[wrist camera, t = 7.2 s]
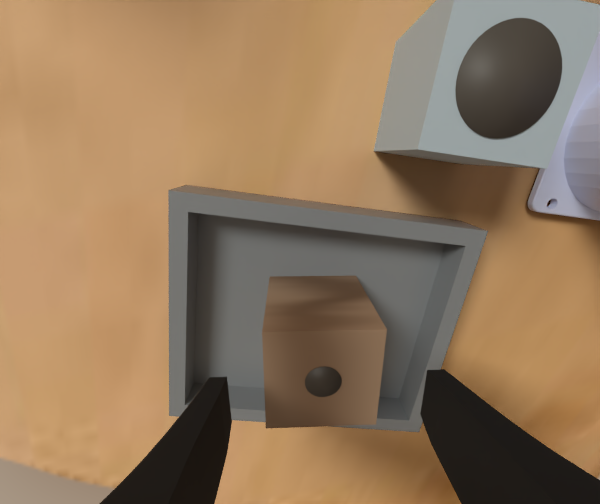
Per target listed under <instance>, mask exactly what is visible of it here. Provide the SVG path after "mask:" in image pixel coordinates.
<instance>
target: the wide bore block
mask: <svg viewBox="0 0 600 504" xmlns="http://www.w3.org/2000/svg"><path fill="white" fill-rule="evenodd" d="M599 31H600V5H599V4H594V3H589V2H585V1H580V0H436V1H435V2H434V3H433V4H432V5H431V6H430V7H429V9H428V10H427V11H426V12H425V13H424V14H423V15H422V16H421V17H420V18H419V19H418V20H417V21H416V22H415V23H414V24H413V25H412V26H411V27H410V28H409V29H408V30H407V31H406V32H405V33H404V34H403V35H402V36H401V37H400V38H399V39H398V40H397V41H396V44H395V49H394V54H393V59H392V64H391V69H390V74H389V79H388V84H387V89H386V94H385V98H384V103H383V108H382V113H381V118H380V123H379V128H378V133H377V138H376V143H375V148H374V151H376V152H383V153H390V154H397V155H403V156H410V157H417V158H424V159H430V160H437V161H444V162H451V163H457V164H467V165H486V166H504V167H523V168H541V169H547V167H548V165H549V162H550V160H551V157H552V154H553V152H554V149H555V146H556V144H557V141H558V139H559V136H560V133H561V131H562V128H563V126H564V123H565V120H566V118H567V115H568V112H569V110H570V107H571V105H572V102H573V99H574V97H575V94H576V92H577V89H578V86H579V84H580V81H581V78H582V76H583V73H584V71H585V68H586V65H587V63H588V60H589V58H590V55H591V52H592V50H593V47H594V44H595V42H596V39H597V37H598V34H599Z"/></svg>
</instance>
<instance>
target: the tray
mask: <svg viewBox="0 0 600 504" xmlns="http://www.w3.org/2000/svg"><path fill="white" fill-rule="evenodd" d="M487 233H488V231H486V230H484V229H481V228H478V227H476V226H473V225H470V224H468V223H465V222H462V221H459V220H451V219H443V218H435V217H428V216H420V215H412V214H405V213H397V212H389V211H382V210H374V209H366V208H359V207H351V206H343V205H336V204H328V203H320V202H313V201H305V200H297V199H289V198H282V197H274V196H266V195H259V194H251V193H243V192H236V191H228V190H220V189H213V188H205V187H197V186H190V185H184V186H181V187H178V188H174V189H171V190H169V416H180V415H181V414H182V413H183V412H184V410H185V409H186V408H187V406H188V405H189V404H190V402H191V401H192V400H193V398H194V397H195V396H196V394H197V393H198V392H199V390H200V389H201V387H202V386H203V385H204V383H205V382H206V380H207V379H208V378H209V377H227V381H228V391H229V400H230V409H231V419H232V420H241V421H256V422H266V418H265V393H264V368H263V343H262V329H263V321H264V314H265V307H266V300H267V292H268V285H269V278H270V277H272V276H356V277H357V278H358V280H359V282H360V284H361V285H362V287H363V289H364V290H365V292H366V294H367V296H368V297H369V299H370V301H371V303H372V304H373V306H374V308H375V310H376V311H377V313H378V315H379V317H380V318H381V320H382V322H383V323H384V325H385V327H386V329H387V334H386V342H385V351H384V360H383V368H382V377H381V386H380V395H379V403H378V412H377V421H376V425H346V426H333V427H348V428H363V429H379V430H394V431H409V432H419V431H420V428H421V425H422V422H423V420H422V417H421V415H420V412H421V406H422V400H423V394H424V387H425V381H426V375H427V370H441V367H442V364H443V361H444V358H445V355H446V352H447V349H448V346H449V343H450V341H451V338H452V335H453V332H454V329H455V326H456V323H457V320H458V317H459V314H460V311H461V308H462V306H463V303H464V300H465V297H466V294H467V291H468V288H469V285H470V282H471V279H472V276H473V274H474V271H475V268H476V265H477V262H478V259H479V256H480V253H481V250H482V247H483V244H484V241H485V239H486V236H487Z"/></svg>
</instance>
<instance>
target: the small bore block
mask: <svg viewBox="0 0 600 504" xmlns="http://www.w3.org/2000/svg"><path fill="white" fill-rule="evenodd" d="M386 334H387V329H386V327H385V325H384V323H383V322H382V320H381V318H380V317H379V315H378V313H377V311H376V310H375V308H374V306H373V304H372V303H371V301H370V299H369V297H368V296H367V294H366V292H365V290H364V289H363V287H362V285H361V284H360V282H359V280H358V278H357V277H356V276H272V277H270V278H269V285H268V292H267V300H266V307H265V314H264V321H263V329H262V343H263V368H264V393H265V418H266V428H288V427H317V426H346V425H376V421H377V412H378V403H379V395H380V386H381V377H382V368H383V360H384V351H385V342H386Z"/></svg>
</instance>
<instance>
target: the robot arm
mask: <svg viewBox="0 0 600 504" xmlns="http://www.w3.org/2000/svg"><path fill="white" fill-rule="evenodd" d="M549 200H551V202H550V205H549V206H548V207H547V203H548V201H549ZM528 208H529V209H530V210H532V211H535V212H540V213H547V214H555V215H562V216H569V217H577V218H584V219H592V220H599V221H600V31H599V34H598V37H597V39H596V42H595V44H594V47H593V50H592V52H591V55H590V58H589V60H588V63H587V65H586V68H585V71H584V73H583V76H582V78H581V81H580V84H579V86H578V89H577V92H576V94H575V97H574V99H573V102H572V105H571V107H570V110H569V112H568V115H567V118H566V120H565V123H564V126H563V128H562V131H561V133H560V136H559V139H558V141H557V144H556V146H555V149H554V152H553V154H552V157H551V160H550V162H549V165H548V167H547V169H541V168H540V170H539V173H538V175H537V178H536V181H535V183H534V186H533V189H532V191H531V194H530V197H529V199H528ZM420 415H421V417H422V420H423V423H424V426H425V428H426V431H427V434H428V436H429V439H430V441H431V444H432V446H433V448H434V450H435V452H436V454H437V456H438V458H439V460H440V462H441V464H442V466H443V468H444V470H445V472H446V474H447V476H448V478H449V480H450V482H451V484H452V486H453V488H454V490H455V492H456V494H457V496H458V498H459V500H460V502H461V503H462V504H600V480H599V479H597V478H595V477H594V476H592V475H590V474H589V473H587V472H585V471H584V470H582V469H581V468H579V467H578V466H576V465H574V464H573V463H571V462H570V461H568V460H567V459H565V458H563V457H562V456H560V455H559V454H557V453H556V452H554V451H553V450H551V449H550V448H548V447H547V446H545V445H544V444H542V443H541V442H539V441H538V440H537V439H535V438H534V437H532V436H531V435H529V434H528V433H527V432H525V431H524V430H522V429H521V428H520V427H518V426H517V425H515V424H514V423H513V422H511V421H510V420H509V419H507V418H506V417H505V416H503V415H502V414H501V413H499V412H498V411H497V410H495V409H494V408H493V407H491V406H490V405H489V404H488V403H486V402H485V401H484V400H482V399H481V398H480V397H479V396H477V395H476V394H475V393H474V392H472V391H471V390H470V389H468V388H467V387H466V386H465V385H463V384H462V383H461V382H460V381H458V380H457V379H456V378H455V377H453V376H452V375H451V374H449V373H448V372H447V371H445V370H444V369H443V370H427V375H426V381H425V387H424V394H423V400H422V406H421V412H420ZM231 423H232V419H231V409H230V400H229V391H228V381H227V377H209V378H208V379H207V380H206V382H205V383H204V385H203V386H202V387H201V389H200V390H199V392H198V393H197V394H196V396H195V397H194V398H193V400H192V401H191V402H190V404H189V405H188V406H187V408H186V409H185V410H184V412H183V413H182V414H181V415H180V417H179V418H178V419H177V420H176V422H175V423H174V424H173V425H172V427H171V428H170V429H169V430H168V432H167V433H166V434H165V435H164V436H163V437H162V439H161V440H160V441H159V442H158V443H157V444H156V445H155V447H154V448H153V449H152V450H151V451H150V452H149V453H148V455H147V456H146V457H145V458H144V459H143V460H142V461H141V462H140V463H139V465H138V466H137V467H136V468H135V469H134V470H133V471H132V472H131V473H130V474H129V475H128V476H127V477H126V478H125V479H124V480H123V481H122V482H121V483H120V484H119V485H118V486H117V487H116V488H115V489H114V490H113V491H112V492H111V493H110V494H109V495H108V496H107V497H106V498H105V499H104V500H103V501H102V502H101V503H100V504H214V503H215V499H216V495H217V491H218V487H219V483H220V479H221V475H222V471H223V467H224V463H225V459H226V455H227V450H228V443H229V437H230V430H231Z"/></svg>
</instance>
